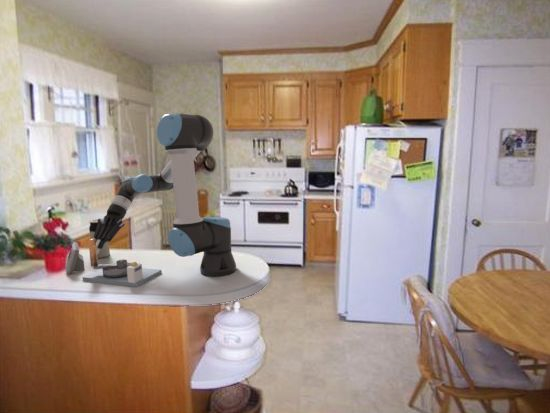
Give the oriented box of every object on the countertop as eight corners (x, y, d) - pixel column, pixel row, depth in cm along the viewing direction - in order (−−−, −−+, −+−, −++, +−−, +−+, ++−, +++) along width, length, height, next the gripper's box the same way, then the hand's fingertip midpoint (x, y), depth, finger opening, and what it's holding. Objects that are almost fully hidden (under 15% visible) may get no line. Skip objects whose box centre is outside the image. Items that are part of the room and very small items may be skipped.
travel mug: (112, 255, 186) (109, 219, 183) (96, 259, 181) (92, 222, 178) (105, 252, 192) (102, 217, 189) (89, 256, 186) (85, 220, 183)
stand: (161, 273, 160) (160, 252, 158) (137, 286, 145) (135, 264, 143) (110, 268, 168) (109, 248, 166) (82, 280, 153) (80, 259, 151)
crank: (138, 267, 162) (135, 234, 160) (129, 277, 150) (126, 241, 148) (98, 268, 161) (94, 235, 159) (85, 278, 149) (81, 243, 147)
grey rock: (67, 264, 174) (64, 242, 172) (88, 262, 177) (86, 240, 175) (59, 276, 159) (56, 251, 157) (82, 273, 161) (80, 249, 160)
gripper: (135, 213, 170) (111, 260, 157) (111, 211, 174) (86, 257, 161) (126, 204, 164) (100, 252, 151) (102, 202, 168) (75, 249, 155)
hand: (93, 254), depth 156 cm, fingers closed
